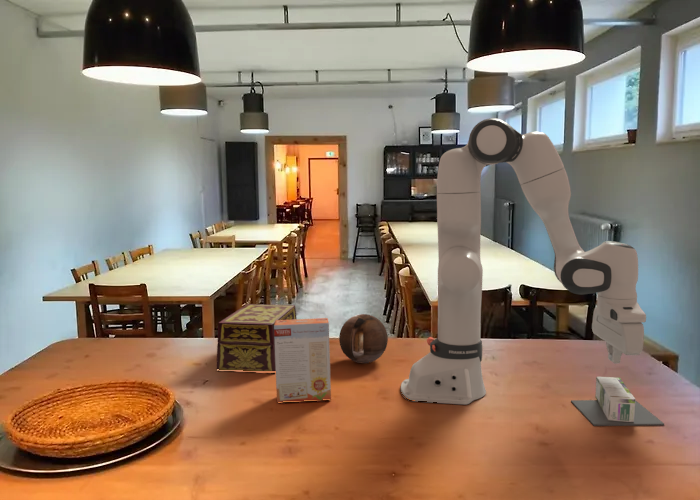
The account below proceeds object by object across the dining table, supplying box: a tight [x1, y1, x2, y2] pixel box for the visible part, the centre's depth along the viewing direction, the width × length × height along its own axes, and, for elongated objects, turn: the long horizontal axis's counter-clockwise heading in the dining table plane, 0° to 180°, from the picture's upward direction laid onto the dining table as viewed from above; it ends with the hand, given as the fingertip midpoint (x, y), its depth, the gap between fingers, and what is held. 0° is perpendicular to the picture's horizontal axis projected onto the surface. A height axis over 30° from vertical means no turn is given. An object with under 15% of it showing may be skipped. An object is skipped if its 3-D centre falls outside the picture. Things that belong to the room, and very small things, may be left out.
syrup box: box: [595, 376, 636, 422], centre depth 139 cm, size 6×6×14 cm
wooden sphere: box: [338, 313, 389, 364], centre depth 177 cm, size 15×15×15 cm
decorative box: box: [216, 303, 298, 371], centre depth 183 cm, size 28×19×15 cm
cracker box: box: [274, 317, 332, 403], centre depth 148 cm, size 14×6×21 cm, turn 94°
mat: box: [570, 399, 665, 427], centre depth 138 cm, size 16×14×1 cm
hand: (614, 361), depth 143 cm, fingers closed
